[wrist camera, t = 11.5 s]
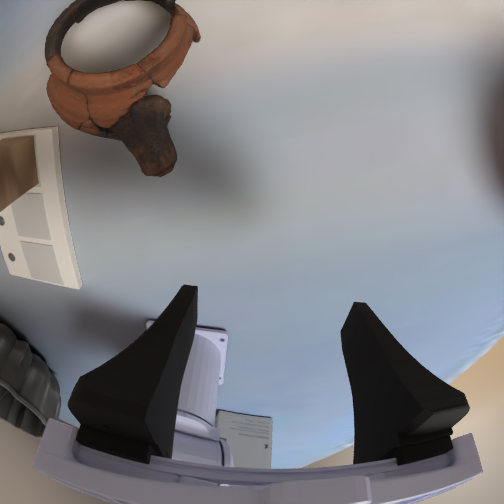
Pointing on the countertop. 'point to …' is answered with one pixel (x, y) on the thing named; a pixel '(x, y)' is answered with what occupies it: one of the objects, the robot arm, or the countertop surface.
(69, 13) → the pottery mug
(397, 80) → the countertop surface
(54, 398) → the bundt pan
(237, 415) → the skincare box
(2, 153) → the walnut block
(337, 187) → the countertop surface
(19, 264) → the board
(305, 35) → the countertop surface
